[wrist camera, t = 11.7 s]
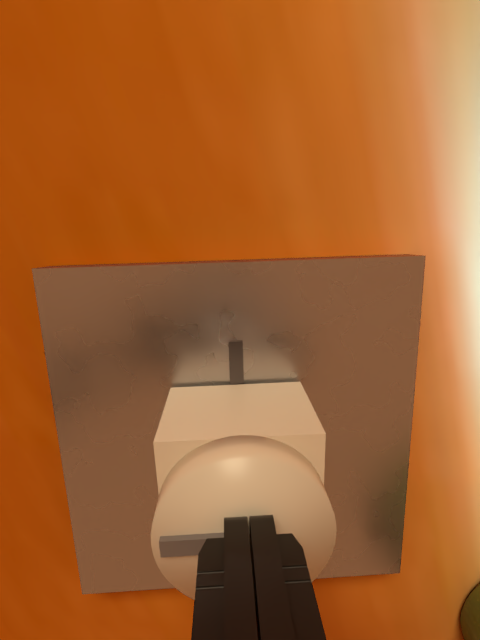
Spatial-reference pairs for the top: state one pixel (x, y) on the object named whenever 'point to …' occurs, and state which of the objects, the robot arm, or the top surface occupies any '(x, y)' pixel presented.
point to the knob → (238, 472)
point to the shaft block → (230, 369)
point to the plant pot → (471, 616)
